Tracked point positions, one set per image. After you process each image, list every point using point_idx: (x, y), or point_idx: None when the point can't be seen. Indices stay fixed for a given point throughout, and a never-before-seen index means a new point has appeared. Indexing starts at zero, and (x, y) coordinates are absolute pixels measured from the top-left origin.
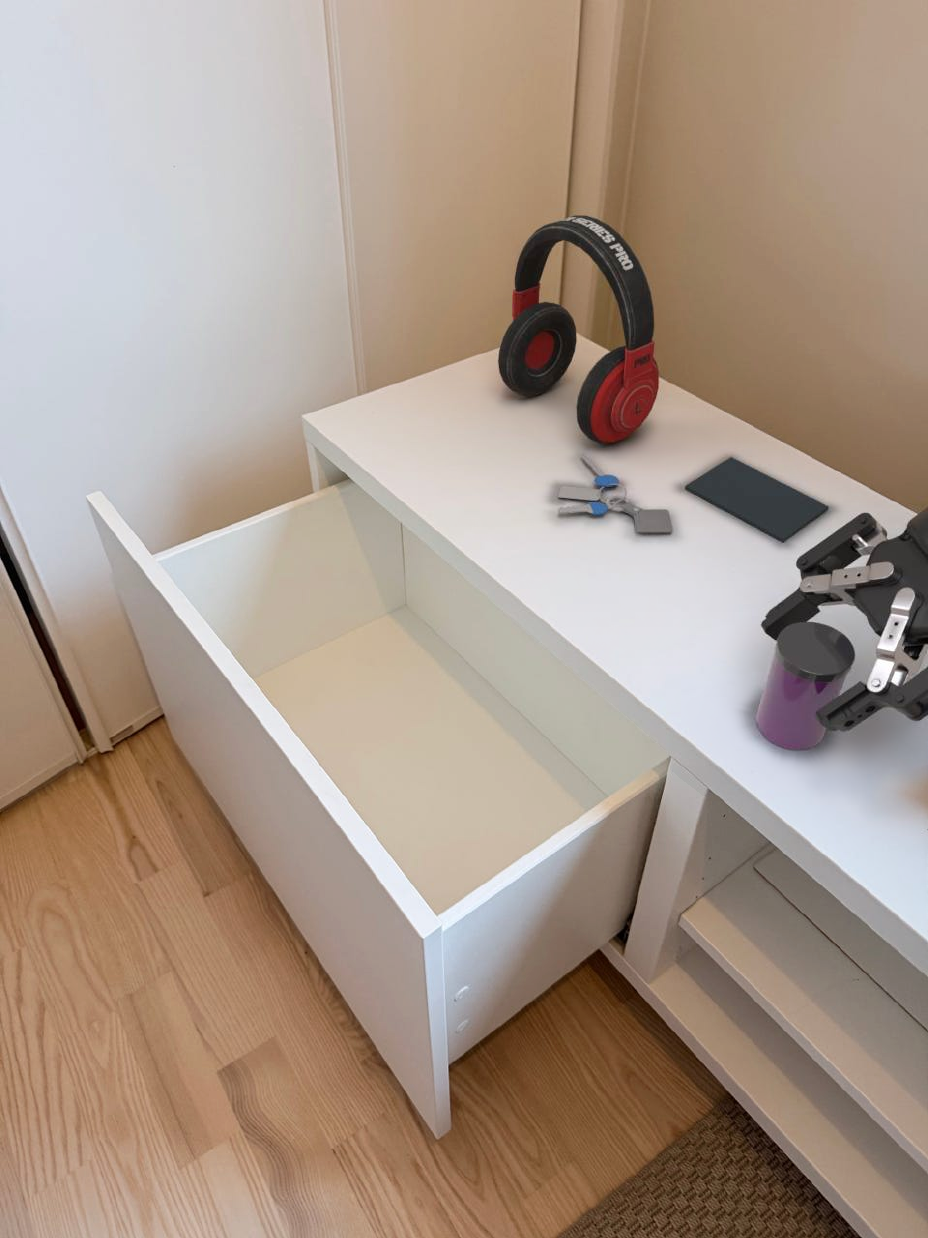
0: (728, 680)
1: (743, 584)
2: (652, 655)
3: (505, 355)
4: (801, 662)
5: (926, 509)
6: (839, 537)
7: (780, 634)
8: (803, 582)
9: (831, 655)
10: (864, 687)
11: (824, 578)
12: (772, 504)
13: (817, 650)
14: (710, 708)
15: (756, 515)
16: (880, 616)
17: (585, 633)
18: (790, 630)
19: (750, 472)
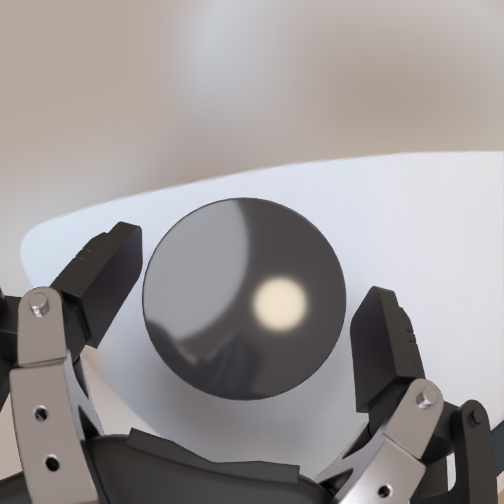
0: (344, 271)
1: (454, 385)
2: (411, 209)
3: None
4: (217, 225)
5: None
6: None
7: (327, 244)
8: (435, 392)
9: (200, 317)
10: (65, 291)
11: (418, 439)
12: (495, 457)
13: (232, 294)
14: (312, 218)
15: (498, 437)
16: (158, 481)
17: (451, 168)
18: (328, 277)
19: None
